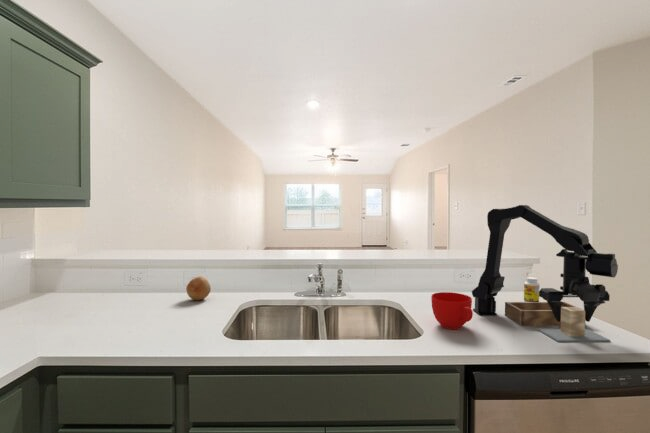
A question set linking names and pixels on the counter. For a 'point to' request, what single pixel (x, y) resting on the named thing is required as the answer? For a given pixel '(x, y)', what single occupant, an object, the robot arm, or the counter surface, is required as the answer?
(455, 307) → the ceramic cup
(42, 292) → the counter surface
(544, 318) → the walnut crate
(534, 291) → the supplement bottle
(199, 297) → the onion
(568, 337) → the slate mat
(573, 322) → the maple block
